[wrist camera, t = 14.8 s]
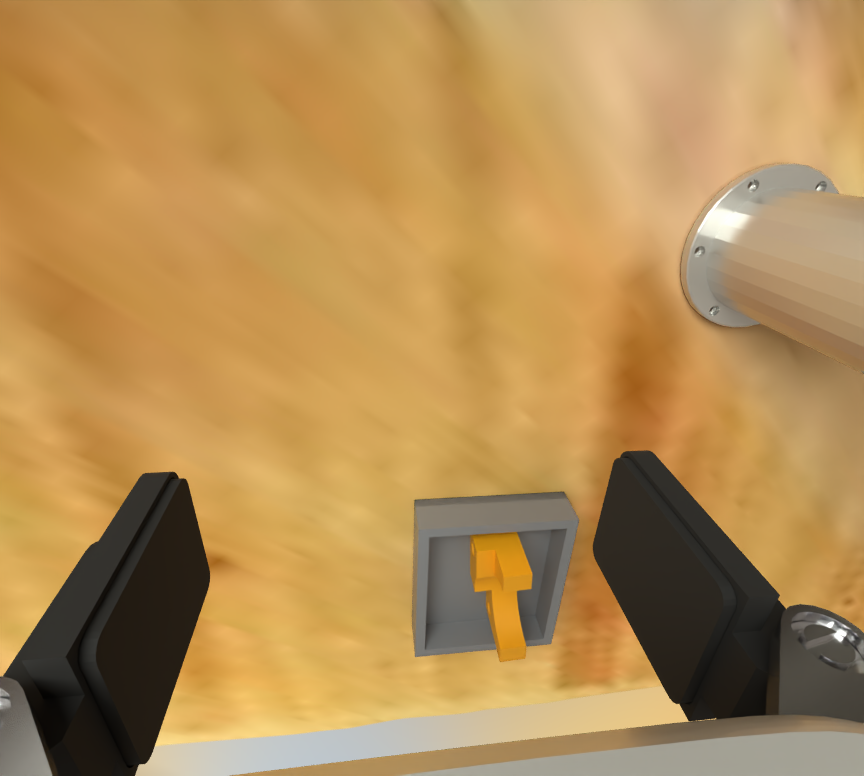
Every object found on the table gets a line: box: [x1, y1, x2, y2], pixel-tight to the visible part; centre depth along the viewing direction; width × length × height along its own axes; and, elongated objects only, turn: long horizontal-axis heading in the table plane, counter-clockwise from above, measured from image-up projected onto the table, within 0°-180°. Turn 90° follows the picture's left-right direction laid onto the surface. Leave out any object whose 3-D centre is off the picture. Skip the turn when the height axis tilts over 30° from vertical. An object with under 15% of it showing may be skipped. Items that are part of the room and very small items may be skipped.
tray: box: [412, 492, 579, 657], centre depth 51 cm, size 15×18×4 cm
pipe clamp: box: [470, 532, 533, 662], centre depth 49 cm, size 12×4×6 cm, turn 2°
